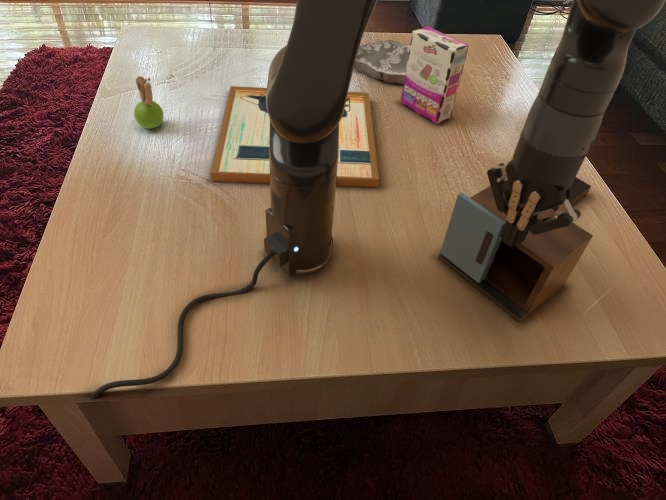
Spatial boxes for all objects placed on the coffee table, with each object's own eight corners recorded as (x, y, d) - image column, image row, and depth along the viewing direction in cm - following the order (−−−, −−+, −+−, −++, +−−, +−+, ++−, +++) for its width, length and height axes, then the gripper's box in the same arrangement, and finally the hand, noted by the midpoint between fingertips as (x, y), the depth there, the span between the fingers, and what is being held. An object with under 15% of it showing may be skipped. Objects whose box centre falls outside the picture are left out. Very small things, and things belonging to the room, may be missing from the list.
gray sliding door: (477, 284, 80) (501, 225, 71) (438, 253, 84) (456, 194, 75) (481, 281, 81) (506, 222, 72) (443, 250, 85) (461, 191, 76)
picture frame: (368, 92, 116) (379, 179, 95) (367, 100, 117) (377, 187, 96) (230, 86, 114) (210, 172, 93) (231, 93, 115) (211, 181, 95)
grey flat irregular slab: (439, 63, 131) (441, 52, 129) (419, 94, 120) (421, 82, 118) (366, 45, 136) (367, 33, 134) (340, 73, 125) (341, 61, 123)
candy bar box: (451, 118, 114) (470, 44, 102) (436, 125, 112) (454, 51, 100) (413, 96, 120) (427, 24, 108) (398, 102, 117) (411, 30, 105)
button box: (550, 221, 93) (558, 204, 90) (504, 191, 98) (511, 174, 95) (586, 195, 98) (595, 178, 96) (542, 168, 103) (549, 151, 101)
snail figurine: (145, 139, 102) (132, 82, 93) (133, 123, 105) (119, 67, 97) (172, 131, 104) (161, 75, 96) (158, 116, 108) (147, 60, 99)
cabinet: (518, 322, 77) (544, 273, 69) (437, 258, 85) (453, 207, 77) (564, 284, 83) (593, 235, 75) (484, 227, 91) (503, 177, 83)
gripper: (490, 118, 61) (456, 226, 73) (591, 176, 54) (535, 284, 67) (528, 99, 64) (489, 205, 77) (627, 152, 58) (567, 258, 70)
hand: (510, 242), depth 72 cm, fingers closed
